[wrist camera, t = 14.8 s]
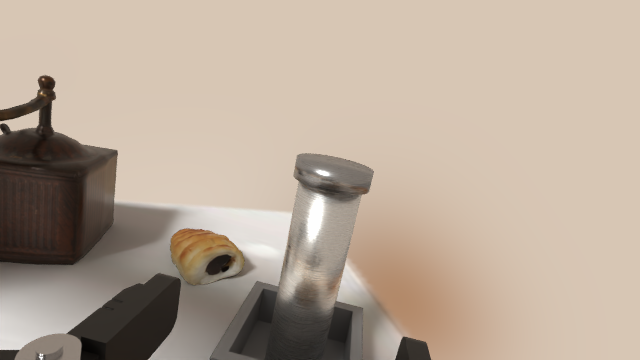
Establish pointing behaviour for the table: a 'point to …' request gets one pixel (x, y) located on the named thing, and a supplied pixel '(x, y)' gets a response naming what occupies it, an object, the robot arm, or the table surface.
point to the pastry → (204, 256)
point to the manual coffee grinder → (51, 189)
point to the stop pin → (315, 254)
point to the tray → (255, 322)
